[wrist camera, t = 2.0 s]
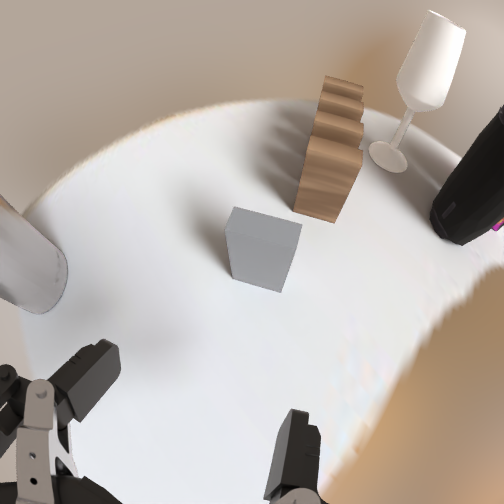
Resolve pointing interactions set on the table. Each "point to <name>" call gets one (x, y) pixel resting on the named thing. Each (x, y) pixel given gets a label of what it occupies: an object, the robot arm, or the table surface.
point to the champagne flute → (422, 81)
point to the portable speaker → (473, 189)
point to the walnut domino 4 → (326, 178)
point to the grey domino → (260, 247)
